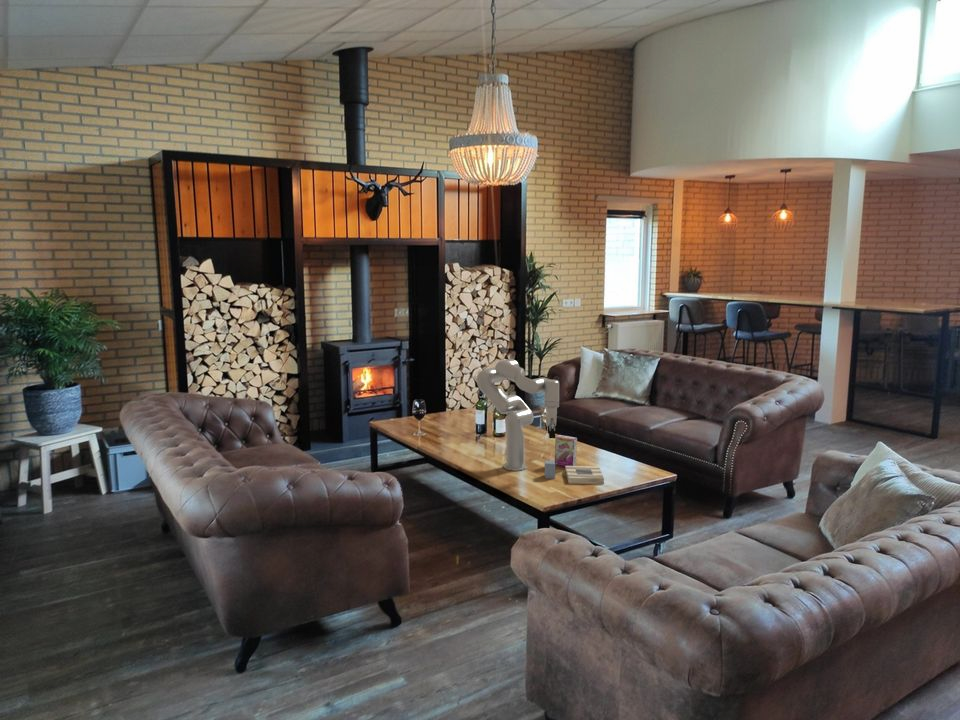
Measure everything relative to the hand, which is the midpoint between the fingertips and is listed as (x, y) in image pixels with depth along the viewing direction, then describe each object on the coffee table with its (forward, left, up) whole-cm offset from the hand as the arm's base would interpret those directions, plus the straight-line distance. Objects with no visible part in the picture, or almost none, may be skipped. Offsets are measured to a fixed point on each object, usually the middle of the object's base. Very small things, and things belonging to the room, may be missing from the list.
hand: (551, 435), depth 372 cm
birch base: (0, +18, -22) cm, 28 cm away
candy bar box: (-20, +10, -23) cm, 32 cm away
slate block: (0, 0, -23) cm, 22 cm away
